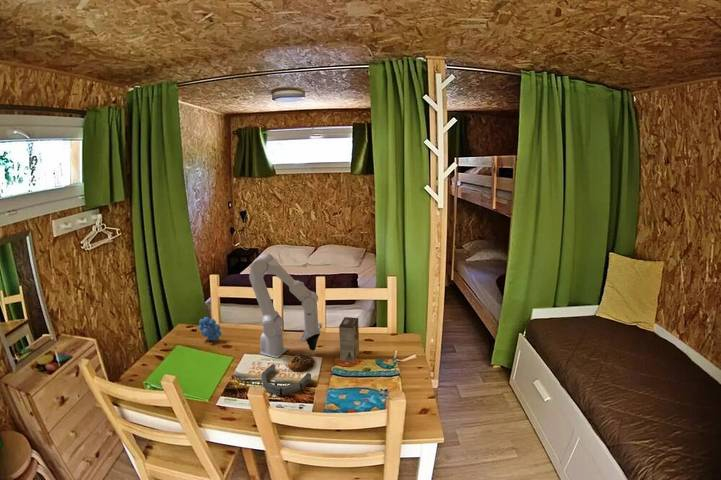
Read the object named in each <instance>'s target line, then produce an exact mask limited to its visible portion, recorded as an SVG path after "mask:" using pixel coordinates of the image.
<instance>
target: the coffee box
mask: <svg viewBox="0 0 721 480" xmlns="http://www.w3.org/2000/svg"><path fill="white" fill-rule="evenodd" d="M338 330H339V331H338V332H339V333H338V334H339V355H340V357H339V358H340V359H339V360H340V362H350V363H355V362H356V360H357V357H358V355H359V352H360V341H359V340H360V339H359V338H360V337H359V334H360V333H359V330H360V329H359V317H349V316H348V317H347V316H345V317H343V319H342V321H341V322H340V324H339V329H338Z"/></svg>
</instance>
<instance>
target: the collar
mask: <svg viewBox="0 0 721 480" xmlns="http://www.w3.org/2000/svg"><path fill="white" fill-rule="evenodd" d="M275 372H276V365H275V364H270V366H268V367H267V368H266V369H265V370H264V371H262V372H261V374H260V376H261V377H260V378H261V384H263V385H262V388H263V387H265V388H266V390H267V391H268V392H267V393H270V394H273V395H277V396H285V395H289V394H293V393H297V392H301V390H302V391H303V390H304V388H305V387H307V385H308V384H309V383H310V381H312V373H309V372H307V373H306V374H305V375H304V376H303V377H302V378H301V380H299V381H298V382H295V383H291V384H288V385H282V386H281V385H276V384H272V383H270V382H268V380H267V379H268V378H269V377H271V375H273V374H274V373H275Z"/></svg>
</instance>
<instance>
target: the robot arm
mask: <svg viewBox="0 0 721 480" xmlns="http://www.w3.org/2000/svg"><path fill="white" fill-rule="evenodd" d="M249 267H250V270H249V276H248V278H249V282H250V285H251V286H252V290H253V292H254V295H255V298H256V301H257V303H258V307H259V309H260V311H261V315H262V321H261V323H262V333H261V334H260V339H259V342H260V343H259V344H260V352H259V355H262V356H265V357H270V358H271V357H272V358H276V359H278V358H280V357H281V356H282V355H283V354H284V353H285V352H287V351H288V350H289V348H288V347H284V335H283V334H284V333H283V332H284V331H283V329H282V327H283V326H284V318H283V317H281V316H280V313H279V312H278V311H277V310H276V309H275V307H274V304H273V301H272V299H271V295H270V293H269V290H268V287H267V285H266V281H265V279H264V276H265V275H275V276H276V277H277V278H278V279H280V280H281V281H282V282H283V283H284V284H286V285H287V286H288V288H289V292H290V293H291V294H292V295H294V297H296V298H297V299H298V301H299V302H301V306H302V308H303V315H304V316H303V320H304V331H303V333H302V336H301V337H300V342H302V343H307V345H308V349H309V351H315V350H316V348H317V343H318V340H319V337H320V335H321V333H322V331H321V330H320V329H322V327H323V324H322V323H321V322H319V318H318V317H319V316H318V304H317V303H318V302H319V296H318V294H317V293H316V292H315V291H312V290H310V289H308V287H306V286H305V283H304V282H303V281H300V280H297V279H296V280H295V279H294V278H293V276H291V274H289V273H288V272H287V270H286V269H285V268H284V267H283V266H282V265H281V264H280V263H279V261H278V260H277V259H276V258H275V257H274V256H273V255H272V254H270V253H268V252H267V253H262V254H261V255H260V256H259V257H257V258H255V259H254V260H253V261H252V262H251V264H250V265H249Z"/></svg>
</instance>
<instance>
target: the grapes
mask: <svg viewBox="0 0 721 480" xmlns="http://www.w3.org/2000/svg"><path fill="white" fill-rule="evenodd" d="M198 324H199V325H198V330H200V331H201V335H202V337H205V338H206V339H207V340H208V341H209V340H212V341H215V342H217V341H219V339H220V337H222V334H223V333H222V332H221V331H220V330H221V326H220V324H217V321H216V319H214V318H210V317H208V316H204V318H200V319H199V323H198Z"/></svg>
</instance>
